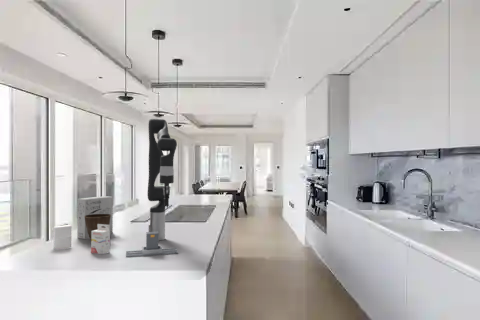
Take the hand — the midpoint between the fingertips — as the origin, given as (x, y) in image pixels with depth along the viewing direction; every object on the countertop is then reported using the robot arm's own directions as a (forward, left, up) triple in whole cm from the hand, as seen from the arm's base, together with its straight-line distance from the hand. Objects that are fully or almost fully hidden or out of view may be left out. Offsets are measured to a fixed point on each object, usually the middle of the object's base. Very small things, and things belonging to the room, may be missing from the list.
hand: (166, 206), depth 193 cm
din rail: (-4, -9, -24) cm, 26 cm away
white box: (-59, -13, -24) cm, 65 cm away
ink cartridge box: (-31, -16, -24) cm, 42 cm away
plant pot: (-50, +5, -24) cm, 56 cm away
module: (-4, -9, -23) cm, 25 cm away
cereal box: (-64, +20, -24) cm, 71 cm away
